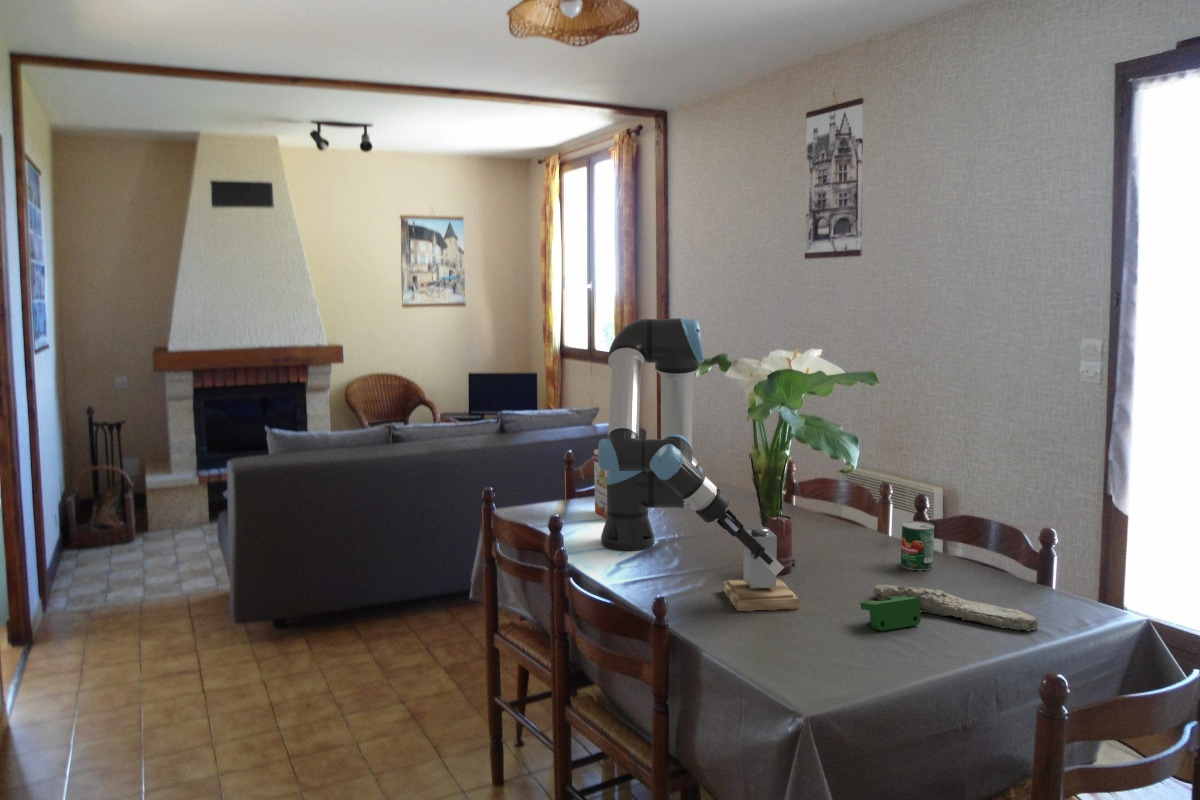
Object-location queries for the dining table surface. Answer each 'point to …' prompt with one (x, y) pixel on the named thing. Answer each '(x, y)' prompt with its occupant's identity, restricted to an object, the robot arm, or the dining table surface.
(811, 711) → the dining table surface
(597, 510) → the cracker box
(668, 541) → the dining table surface
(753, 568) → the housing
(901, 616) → the green plastic block
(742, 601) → the stand
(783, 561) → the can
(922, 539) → the canned tomato
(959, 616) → the elongated rock
